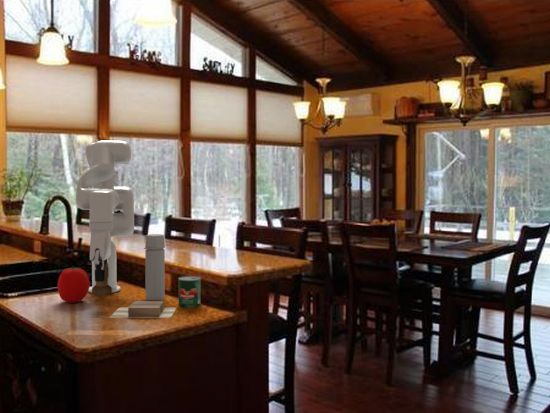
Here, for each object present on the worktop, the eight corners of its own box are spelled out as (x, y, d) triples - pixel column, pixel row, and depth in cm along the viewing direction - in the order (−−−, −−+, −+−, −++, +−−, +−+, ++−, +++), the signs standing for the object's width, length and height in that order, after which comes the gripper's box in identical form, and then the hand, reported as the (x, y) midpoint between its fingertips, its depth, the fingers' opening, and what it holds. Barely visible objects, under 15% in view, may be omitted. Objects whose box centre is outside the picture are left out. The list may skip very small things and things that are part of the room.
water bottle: (169, 300, 214) (169, 235, 212) (152, 304, 208) (152, 236, 206) (154, 296, 220) (154, 233, 218) (137, 300, 214) (137, 234, 212)
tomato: (49, 303, 207) (48, 267, 206) (74, 297, 218) (74, 263, 217) (72, 307, 202) (72, 270, 201) (97, 300, 213) (97, 265, 212)
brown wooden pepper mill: (101, 297, 189) (100, 244, 188) (87, 295, 192) (87, 242, 191) (115, 293, 195) (115, 242, 193) (102, 291, 198) (102, 240, 197)
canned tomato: (180, 311, 197) (180, 280, 196) (176, 306, 204) (176, 276, 204) (203, 309, 200) (203, 279, 199) (197, 304, 207) (197, 275, 207)
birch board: (119, 310, 197) (119, 307, 197) (176, 310, 198) (176, 307, 198) (109, 321, 183) (109, 317, 183) (170, 321, 184) (170, 317, 184)
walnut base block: (134, 309, 195) (134, 300, 194) (163, 309, 195) (163, 301, 195) (128, 316, 185) (128, 307, 184) (158, 317, 185) (158, 307, 185)
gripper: (97, 223, 200) (97, 274, 201) (82, 229, 183) (83, 285, 185) (118, 223, 200) (118, 274, 202) (105, 230, 183) (106, 285, 185)
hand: (101, 279), depth 193 cm, fingers closed on brown wooden pepper mill, 4 cm apart
